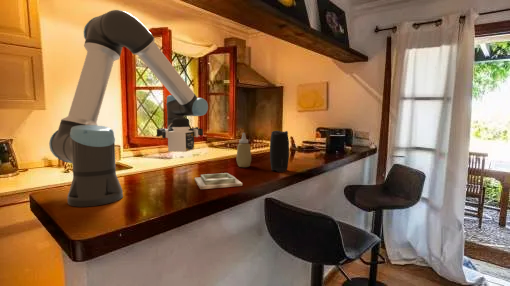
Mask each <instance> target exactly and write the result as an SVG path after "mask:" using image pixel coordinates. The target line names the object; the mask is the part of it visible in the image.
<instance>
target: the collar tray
mask: <svg viewBox="0 0 510 286" xmlns="http://www.w3.org/2000/svg"><path fill="white" fill-rule="evenodd" d="M194 181H195V183H196V185H197V186H198V189H200V190H208V189H219V188H220V189H222V188H230V187H231V188H232V187H242V186H243V182H241V181H240V180H239V179H237V178H236V177H235V176H234V175H232V174H230V173H228V172H224V173H223V172H221V173H207V174H206V173H205V174H200V177H194Z"/></svg>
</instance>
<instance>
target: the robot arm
mask: <svg viewBox="0 0 510 286" xmlns="http://www.w3.org/2000/svg"><path fill="white" fill-rule="evenodd" d="M83 38H84V39H85V41H84V44H83V46H84V49H85V50H86V55H85V59H84V63H83V66H82V68H81V72H80V74H79V75H80V76H79V79H78V82H77V85H76V88H75V91H74V95H73V99H72V102H71V105H70V109H69V112H68V115H67V116H66V117H63V118H61V120H60V123H59V126H58V129H57V130H56V131H55V132H54V133H52V135H51V136H50V138H49V143H48V144H49V149H50V152H51V154H52V155H53V156H54V157H55V158H57V159H58V160H59V161H62V162H64V163H67V164H68V163H69V164H72V165H71V166H72V181H71V184H70V187H69V190H68V193H67V204H68V205H69V206H71V207H76V208H77V207H78V208H79V207H80V208H82V207H85V208H86V207H87V208H88V207H96V206H102V205H107V204H108V205H109V204H111V203H114V202H118V201H119V200H122V199H123V197H124V194H123V188H122V185H121V182H120V181H119V178H118V176H117V170H116V169H117V168H116V148H115V147H116V143H115V142H116V138H115V133H114V129H112V128H111V127H108V126H105V125H98V123H97V121H98V117H99V115H100V111H101V107H102V104H103V100H104V96H105V94H106V90H107V86H108V84H109V83H108V82H109V79H110V76H111V73H112V68H113V66H114V65H113V64H114V62H116V61H118V60H120V58H121V54H122V51H123V48H126V49H127V50H129V51H130V52H131V54H133V55H134V56H135V55H136V56H138V57H139V58H140V60H141V61H142V62H143V64H144V65H145V66H146V67H147V68H148V69H149V70H150V71H151V73H153V75H154V76H155V77H156V79H158V80H159V82H160V83H161V84H162V85H163V86H164V88H165V89H166V90H167V91H168V92H169V93H170V94H169V95H167V96H166V104H165V106H166V116H167V119H166V121H167V122H166V124H167V125H166V128H163V127H162V128H158V129H156V137H161V138H162V139H168V132H169V131H173V128H172V120H173V119H174V118H185V117H201V116H204V115H206V114H207V113H208V109H209V106H208V105H209V104H208V102H207V101H208V100H206V99H204V97H203V98H202V97H198V95H196V94H195V92H194V91H193V90H192V88H191V87H190V86H189V85H188V84H187V83H186V81H185V79H183V77H182V76H181V75H180V74H179V72H178V71H177V70H176V68H175V66H173V64H172V63H171V62H170V60H169V59H168V58H167V56H166V55H165V54H164V53H163V52H162V49H160V47H158V45H157V44H156V42H155V37H154V36H153V34H152V33H151V32H150V31H149V29H148V28H147V27H146V26H145V25H144V24H143V23H142V22H141V21H140V20H139V19H138V18H137V17H135V16H133V14H131V13H129V12H127V11H124V10H121V9H112V10H110V11H107V12H105V13H103V14H101V15H98V16H95V17H93V18H91V19H90V20H89V21H87V23H86V24H85V26H84V28H83ZM189 131H194V138H198V137H199V136H201V137H202V136H203V134H204V130H203V128H199V127H198V126H195V127H192V128H189Z"/></svg>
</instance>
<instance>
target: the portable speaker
mask: <svg viewBox="0 0 510 286" xmlns="http://www.w3.org/2000/svg"><path fill="white" fill-rule="evenodd" d="M288 134H289V132H288V130H285V131H282V130H281V131H280V130H272V131H271V134H270V135H271V136H270V140H269V141H270V142H269V161H270V168H271V171H276V172H277V173H284V172H285V173H286V171H288V168H289V159H290V140H289V135H288Z"/></svg>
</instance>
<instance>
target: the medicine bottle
mask: <svg viewBox="0 0 510 286" xmlns="http://www.w3.org/2000/svg"><path fill="white" fill-rule="evenodd" d="M172 128H173V131H169V132H168V138H167V148H168V152H177V153H178V152H179V153H180V152H183V153H184V152H185V153H186V152H190V151H194V150H195V136H194V131H189V129H190V119H189V118H186V117H184V118H174V119H173V120H172Z"/></svg>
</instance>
